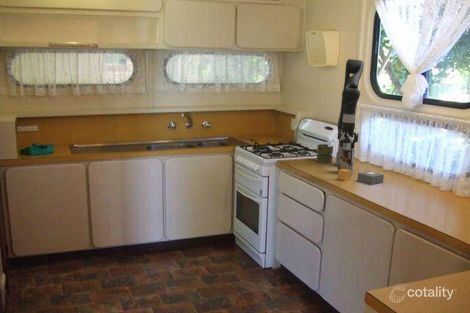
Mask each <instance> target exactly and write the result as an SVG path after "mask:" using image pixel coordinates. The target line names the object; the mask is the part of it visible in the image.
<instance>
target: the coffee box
mask: <svg viewBox="0 0 470 313" xmlns="http://www.w3.org/2000/svg"><path fill="white" fill-rule="evenodd" d="M354 161H355V148H354V149H345V148H341V149H339V159H338V166H337V171H338V170H341V169H347V170H351V176H352V175H353V174H354V165H355V164H354V163H355V162H354Z"/></svg>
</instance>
